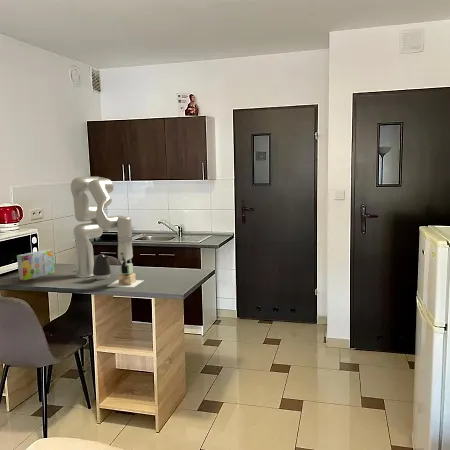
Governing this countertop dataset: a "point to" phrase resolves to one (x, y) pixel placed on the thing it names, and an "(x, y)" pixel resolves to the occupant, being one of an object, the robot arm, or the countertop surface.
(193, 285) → the countertop surface
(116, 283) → the building board
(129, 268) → the sage cube
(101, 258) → the pump dispenser
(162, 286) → the countertop surface
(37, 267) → the snack box
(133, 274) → the oak block
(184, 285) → the countertop surface
